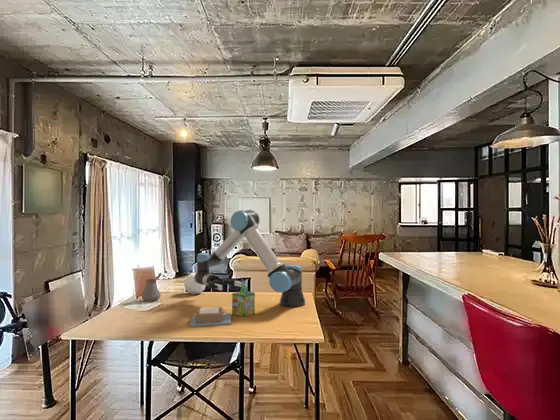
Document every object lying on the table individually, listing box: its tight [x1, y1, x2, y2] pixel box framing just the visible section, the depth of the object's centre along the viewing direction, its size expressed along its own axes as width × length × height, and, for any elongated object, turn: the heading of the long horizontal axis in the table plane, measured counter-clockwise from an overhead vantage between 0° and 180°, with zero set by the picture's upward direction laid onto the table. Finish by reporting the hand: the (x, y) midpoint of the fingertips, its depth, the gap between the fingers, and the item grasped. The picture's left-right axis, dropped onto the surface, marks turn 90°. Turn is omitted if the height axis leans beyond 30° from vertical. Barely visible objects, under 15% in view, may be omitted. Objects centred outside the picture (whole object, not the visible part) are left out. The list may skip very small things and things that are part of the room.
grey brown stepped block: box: [189, 306, 232, 327], centre depth 203 cm, size 20×16×6 cm
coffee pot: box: [141, 272, 163, 302], centre depth 254 cm, size 21×12×15 cm, turn 173°
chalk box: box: [231, 285, 256, 318], centre depth 215 cm, size 9×9×15 cm
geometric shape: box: [183, 271, 206, 295], centre depth 268 cm, size 14×15×15 cm
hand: (231, 286), depth 223 cm, fingers open, 13 cm apart
